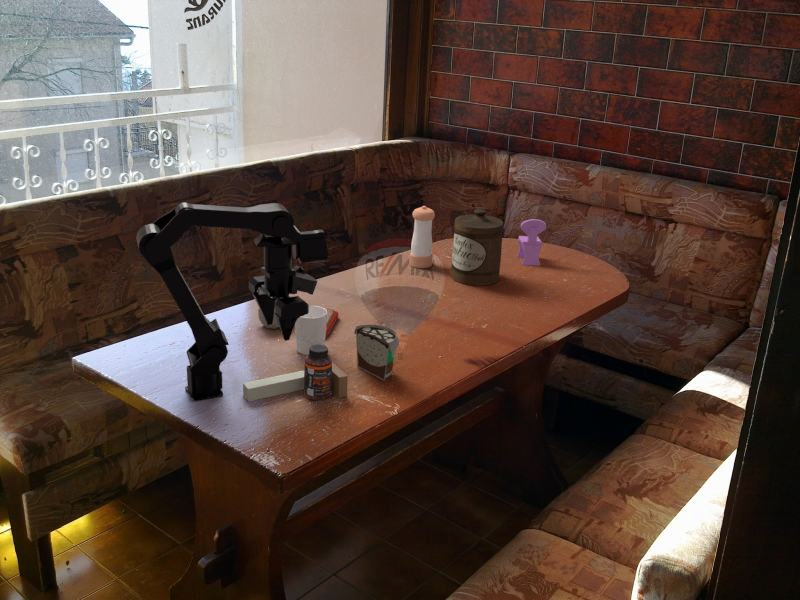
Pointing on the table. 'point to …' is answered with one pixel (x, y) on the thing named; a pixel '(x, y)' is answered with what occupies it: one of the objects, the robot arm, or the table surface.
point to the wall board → (291, 385)
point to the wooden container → (477, 249)
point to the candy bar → (330, 320)
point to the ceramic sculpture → (262, 319)
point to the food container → (376, 349)
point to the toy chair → (531, 241)
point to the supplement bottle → (317, 373)
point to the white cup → (310, 329)
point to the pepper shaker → (422, 238)
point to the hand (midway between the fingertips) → (278, 332)
